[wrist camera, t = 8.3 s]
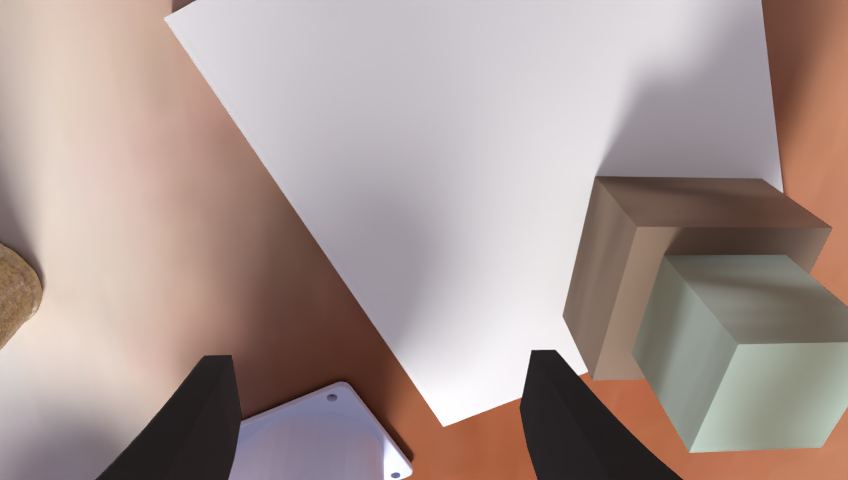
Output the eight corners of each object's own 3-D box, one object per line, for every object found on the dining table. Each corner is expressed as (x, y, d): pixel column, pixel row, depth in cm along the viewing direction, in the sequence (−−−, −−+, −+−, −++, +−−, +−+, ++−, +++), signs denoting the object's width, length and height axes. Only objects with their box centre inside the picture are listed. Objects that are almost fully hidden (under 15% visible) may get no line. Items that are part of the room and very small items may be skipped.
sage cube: (631, 353, 21) (689, 452, 17) (663, 255, 19) (738, 344, 15) (741, 350, 22) (821, 447, 18) (785, 254, 19) (889, 341, 15)
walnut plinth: (562, 316, 25) (592, 380, 22) (594, 175, 22) (637, 226, 18) (706, 314, 26) (757, 376, 22) (761, 178, 22) (832, 228, 19)
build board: (441, 414, 29) (443, 426, 28) (171, 14, 18) (163, 18, 17) (783, 282, 26) (794, 293, 26) (711, -287, 15) (727, -296, 15)
